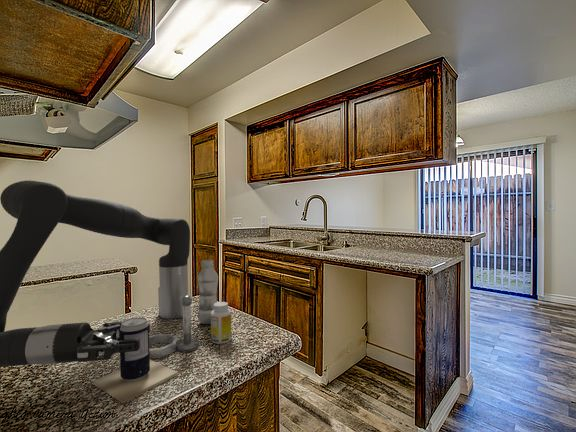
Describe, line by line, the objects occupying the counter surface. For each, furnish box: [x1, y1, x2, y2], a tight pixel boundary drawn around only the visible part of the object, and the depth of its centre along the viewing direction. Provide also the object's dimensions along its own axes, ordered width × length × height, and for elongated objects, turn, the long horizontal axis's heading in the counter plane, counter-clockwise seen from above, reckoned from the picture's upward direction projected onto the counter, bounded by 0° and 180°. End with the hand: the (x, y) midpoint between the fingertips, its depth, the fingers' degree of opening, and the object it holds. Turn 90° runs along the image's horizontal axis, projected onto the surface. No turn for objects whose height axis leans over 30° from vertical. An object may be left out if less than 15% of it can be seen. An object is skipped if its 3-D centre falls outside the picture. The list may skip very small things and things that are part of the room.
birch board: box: [92, 359, 178, 405], centre depth 67 cm, size 12×12×1 cm
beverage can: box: [119, 316, 151, 382], centre depth 67 cm, size 6×6×12 cm
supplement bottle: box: [210, 301, 233, 345], centre depth 86 cm, size 6×6×10 cm
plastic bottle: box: [197, 259, 219, 325], centre depth 99 cm, size 6×7×20 cm
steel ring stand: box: [149, 295, 200, 359], centre depth 81 cm, size 13×13×14 cm
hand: (144, 336), depth 67 cm, fingers open, 8 cm apart
